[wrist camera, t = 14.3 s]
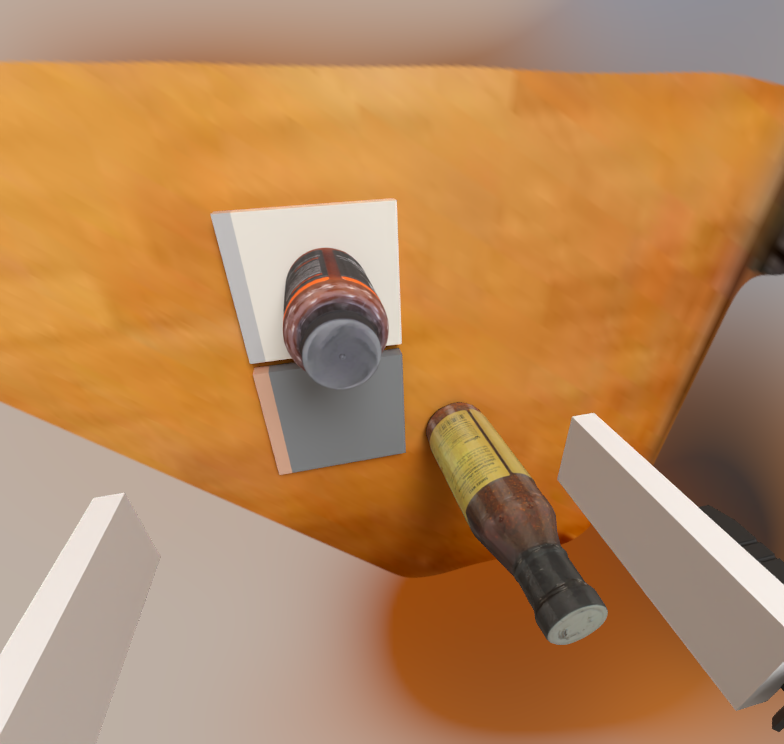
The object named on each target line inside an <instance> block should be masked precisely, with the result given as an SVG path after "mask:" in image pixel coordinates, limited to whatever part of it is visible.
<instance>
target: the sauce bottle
mask: <svg viewBox="0 0 784 744" xmlns="http://www.w3.org/2000/svg"><path fill="white" fill-rule="evenodd" d="M426 434H427V437H428V440H429V443H430V448H431V450H432V453H433V455H434V457H435V459H436V461H437V463H438V465H439V467H440V469H441V471H442V473H443V475H444V477H445V479H446V481H447V483H448V485H449V487H450V489H451V491H452V493H453V495H454V497H455V499H456V501H457V503H458V505H459V507H460V509H461V511H462V513H463V515H464V517H465V519H466V521H467V523H468V525H469V526H470V528H471V530H472V532H473V534H474V535H475V537H476V538H477V539H478V540H479V541H480V542H481V543H482V544H483V545H484V546H485V547H486V548H487V549H488V550H489V551H490V552H491V553H492V554H493V555H494V556H495V557H496V559H497V560H498V561H499V562H500V563H501V564H502V565H503V566H504V567H505V568H506V569H507V570H508V571H509V572H510V573H511V574H512V575H513V576H514V577H515V579H516V581H517V582H518V583H519V584H520V586H521V588H522V590H523V591H524V593H525V595H526V597H527V599H528V601H529V603H530V604H531V606H532V608H533V610H534V613H535V619H536V623H537V624H538V626H539V628H540V629H541V631H542V632H543V634H544V635H545V637H546V639H547V640H548V641H549V642H551V643H554V644H558V645H565V644H569V643H573V642H575V641H577V640H580V639H582V638H584V637H586V636H587V635H589V634H590V633H592V632H593V631H595V630H596V629H597V628H599V627H600V626H601V625H602V624H603V623H604V621H605V619H606V617H607V612H608V611H607V608H606V606H605V604H604V603H603V601H602V600H601V598H600V597H599V595H598V594H597V592H596V591H595V590H594V589H593V588H592V587H591V586H589V585H588V584H587V583H585V581H584V580H583V578H582V577H581V575H580V574H579V573H578V571H577V570H576V568H575V567H574V565H573V564H572V562H571V561H570V560H569V558H568V555H567V553H566V551H565V550H564V549H563V548H562V547H561V545H560V541H559V537H558V534H557V526H556V515H555V512H554V510H553V508H552V506H551V505H550V503H549V502H548V500H547V499H546V498H545V497H544V495H542V493H541V492H540V490H539V489H538V488H537V486H536V484H535V482H534V480H533V479H532V478H531V476H530V475H529V474H528V472H527V471H526V470H525V468H524V467H523V466H522V464H521V463H520V462H519V460H518V459H517V458H516V457H515V455H514V454H513V453H512V451H511V450H510V449H509V447H508V446H507V445H506V443H505V442H504V441H503V439H502V438H501V436H500V435H499V434H498V433H497V431H496V430H495V429H494V427H493V426H492V425H491V424H490V422H489V421H488V420H487V418H486V417H485V416H484V415H483V414H482V413H481V412H480V410H479V409H477V408H476V407H474V406H473V405H469V404H467V403H462V402H461V403H460V402H457V403H452V404H449V405H447V406H445V407H442V408H441V409H439V410H438V411H437V412H436V413H435V414H434V415H433V416H432V417H431V419H430V421H429V422H428V426H427V430H426Z"/></svg>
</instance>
